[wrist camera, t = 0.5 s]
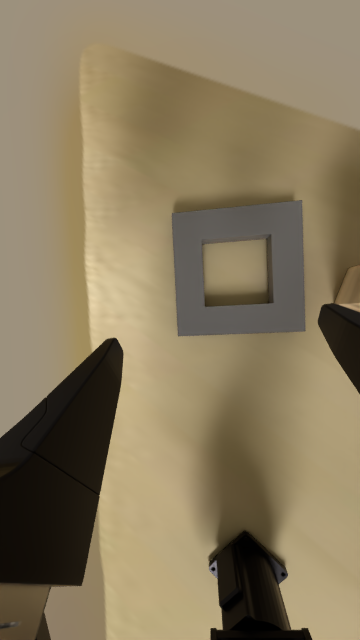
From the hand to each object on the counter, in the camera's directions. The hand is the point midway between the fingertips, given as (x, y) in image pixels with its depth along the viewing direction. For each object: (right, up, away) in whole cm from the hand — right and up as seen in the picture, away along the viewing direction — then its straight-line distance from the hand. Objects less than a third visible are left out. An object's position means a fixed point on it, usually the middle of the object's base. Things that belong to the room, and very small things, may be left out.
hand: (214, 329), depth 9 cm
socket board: (+5, +5, +14) cm, 16 cm away
